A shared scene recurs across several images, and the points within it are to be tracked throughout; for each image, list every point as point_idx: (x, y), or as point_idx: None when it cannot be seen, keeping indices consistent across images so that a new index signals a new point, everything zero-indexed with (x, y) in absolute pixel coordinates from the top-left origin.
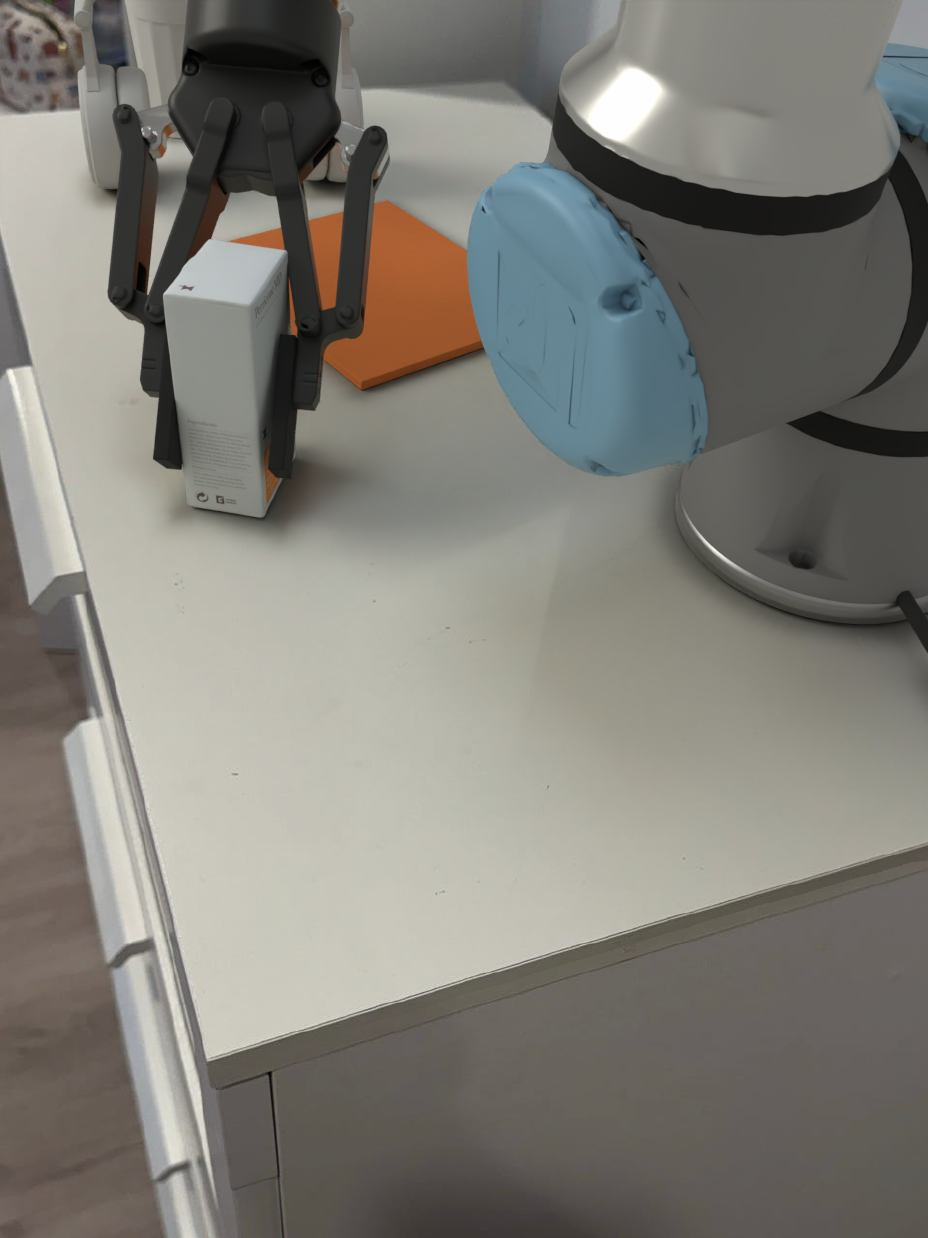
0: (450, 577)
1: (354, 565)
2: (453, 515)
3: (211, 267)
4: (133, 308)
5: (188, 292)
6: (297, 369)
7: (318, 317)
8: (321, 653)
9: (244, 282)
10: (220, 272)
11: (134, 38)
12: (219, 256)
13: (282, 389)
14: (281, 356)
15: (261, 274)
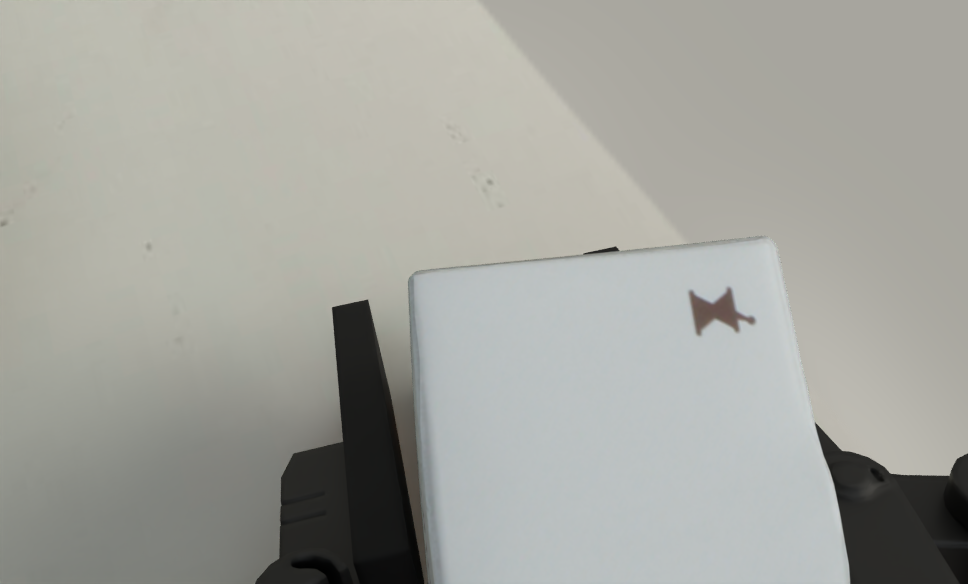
0: (19, 353)
1: (210, 325)
2: (45, 549)
3: (720, 531)
4: (928, 489)
5: (689, 272)
6: (346, 514)
7: None
8: (203, 108)
9: (516, 450)
10: (659, 501)
11: None
12: None
13: (366, 424)
14: (388, 494)
15: (478, 564)
